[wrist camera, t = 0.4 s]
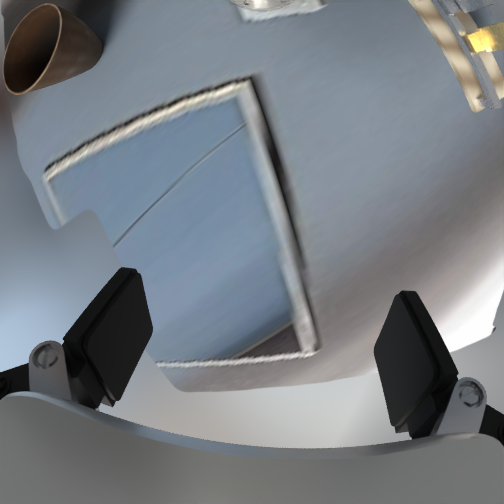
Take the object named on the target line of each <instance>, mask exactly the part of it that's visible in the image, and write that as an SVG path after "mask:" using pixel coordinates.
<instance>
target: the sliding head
mask: <svg viewBox="0 0 504 504" xmlns="http://www.w3.org/2000/svg"><path fill="white" fill-rule="evenodd" d="M475 31H476V32H475V33H472V34H469V35H466V36H464V38H465V40H466V41H467V43H468V45H469V47H470V49H471V50H472V52H473V53H477V52H479V51H482V50H485V49H486V51H487V52H489V51H496V50H504V22H501V23H496V24H492V25H488V26H484V27H481V28H478V29H475Z"/></svg>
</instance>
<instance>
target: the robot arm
mask: <svg viewBox="0 0 504 504" xmlns="http://www.w3.org/2000/svg"><path fill="white" fill-rule="evenodd" d="M230 1H231V2H232V3H234V4H236V5H237V6H240V7H242V8H245V9H249V10H255V11H268V10H274V9H278V8H281V7H284V6H286V5H288V4H289V3H291V2H292V1H294V0H230ZM282 1H284V2H282ZM246 4H249V5H246ZM152 332H153V326H152V322H151V318H150V313H149V309H148V305H147V300H146V296H145V291H144V286H143V282H142V277H141V274H140V273H138V272H137V270H136V269H133V268H125V267H121V268H120V269H119V270H118V271H117V272H116V273H115V275H114V276H113V277H112V278H111V279H110V280H109V281H108V283H107V284H106V285H105V286H104V287H103V288H102V290H101V291H100V292H99V293H98V294H97V296H96V297H95V298H94V300H92V302H91V303H90V304H89V305H88V307H87V308H86V309H85V310H84V312H83V313H82V314H81V315H80V317H79V318H78V319H77V320H76V322H75V323H74V325H73V326H72V327H71V328H70V330H69V331H68V332H67V333H66V335H65V336H64V337H63V340H64V343H63V344H62V345H61V344H60V343H58V342H56V341H45V342H43V343H40V344H39V345H37V346H36V347H35V348H34V349H33V350H32V352H31V354H30V357H29V363H27V364H24V365H21V366H18V367H15V368H12V369H9V370H6V371H3V372H0V504H504V414H502V413H500V412H499V411H497V410H495V409H494V408H492V407H490V406H489V405H487V404H486V402H487V395H486V391H485V389H484V387H483V386H482V385H481V384H480V382H478V381H477V380H475V379H473V378H470V377H465V378H461V379H460V380H458V378H457V375H458V370H457V368H456V366H455V364H454V362H453V360H452V357H451V355H450V353H449V351H448V349H447V347H446V345H445V343H444V341H443V339H442V337H441V335H440V333H439V331H438V329H437V328H436V326H435V324H434V322H433V320H432V318H431V316H430V315H429V313H428V311H427V309H426V308H425V306H424V304H423V302H422V301H421V299H420V297H419V295H418V294H417V292H416V291H401V292H400V293H399V294H397V295H396V296H395V297H394V300H393V303H392V305H391V308H390V310H389V313H388V315H387V318H386V320H385V323H384V325H383V328H382V330H381V332H380V335H379V337H378V339H377V341H376V344H375V346H374V356H375V360H376V364H377V368H378V371H379V375H380V379H381V383H382V387H383V392H384V396H385V400H386V405H387V409H388V413H389V419H390V423H391V425H392V426H395V431H396V433H401V432H408V431H409V435H410V437H409V439H408V440H406V441H399V442H392V443H384V444H377V445H368V446H357V447H344V448H321V449H320V448H317V449H298V448H271V447H258V446H247V445H238V444H230V443H223V442H216V441H210V440H204V439H199V438H193V437H188V436H183V435H179V434H174V433H170V432H165V431H162V430H158V429H154V428H150V427H146V426H143V425H140V424H136V423H133V422H130V421H126V420H123V419H120V418H117V417H114V416H111V415H108V414H105V413H102V412H100V411H99V408H98V407H99V405H100V403H103V404H105V405H108V406H111V407H113V406H114V404H115V402H116V401H119V400H120V399H121V397H122V395H123V392H124V390H125V388H126V386H127V384H128V382H129V380H130V378H131V376H132V374H133V372H134V370H135V368H136V366H137V364H138V361H139V359H140V357H141V355H142V353H143V351H144V349H145V347H146V345H147V343H148V342H149V340H150V338H151V336H152Z"/></svg>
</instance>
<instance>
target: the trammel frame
mask: <svg viewBox="0 0 504 504" xmlns="http://www.w3.org/2000/svg"><path fill="white" fill-rule="evenodd" d="M418 1H419V2H420V1H424V0H418ZM431 1H432V3H433V4H434V5H435V7H436V8H437V9H438V11H439V12H440V14H441V15H442V17H443V18H444V20H445V21H446V23H447V24H448V26H449V27H450V29H451V30H452V32H453V34H454V35H455V37H456V38H457V40H458V42H459V44H460V45H461V47H462V49H463V51H464V52H465V54H466V56H467V58H468V60H469V62H470V64H471V66H472V68H473V70H474V72H475V74H476V76H477V78H478V80H479V82H480V85H481V87H482V89H483V91H484V94H485V96H480V97H479V98H477V99H476V101H477V104H478V106H479V107H486V108H490V109H492V110H497V109H498V108H500V107H502V105H501V103H500V100H499V97H498V95H497V92H496V90H495V88H494V85H493V83H492V81H491V78H490V76H489V74H488V72H487V70H486V67H485V65H484V63H483V61H482V59H481V57H480V55H479V53H478V52H477V53H473V52H472V50H471V49H470V47H469V45H468V43H467V41H466V40H465V38H464V36H466V35H468V34H467V32H466V30H465V29H464V27H463V26H462V24H461V22H460V21H459V19H458V18H457V16H456V15H455V13H457V12H461V11H463V12H464V13H467V12H471V11H475V10H478V9H481V8H484V7H487V6H490V5H493V4H496V3H497V2H496V0H431Z"/></svg>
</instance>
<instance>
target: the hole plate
mask: <svg viewBox="0 0 504 504" xmlns="http://www.w3.org/2000/svg"><path fill="white" fill-rule="evenodd" d="M408 1H409V3H410V4H411V5H412V6H413V8H414V9H415V10H416V12H417V13H418V14H419V16H420V17H421V19H422V20H423V21H424V23H425V24H426V26H427V27H428V29H429V30H430V32H431V33H432V35H433V36H434V38H435V39H436V41H437V43H438V44H439V46H440V48H441V49H442V51H443V53H444V54H445V56H446V58H447V60H448V61H449V63H450V65H451V67H452V69H453V71H454V73H455V74H456V76H457V78H458V80H459V82H460V84H461V87H462V89H463V91H464V93H465V95H466V97H467V100H468V102H469V104H470V107H471V109H472V111H473V112H479V111H480V110H482V109H484V108H486V107H479V106H478V104H477V101H476V99H477V98H479V97H480V96H485V94H484V91H483V89H482V87H481V85H480V82H479V80H478V78H477V76H476V74H475V72H474V70H473V68H472V66H471V64H470V62H469V60H468V58H467V56H466V54H465V52H464V51H463V49H462V47H461V45H460V44H459V42H458V40H457V38H456V37H455V35H454V34H453V32H452V30H451V29H450V27H449V26H448V24H447V23H446V21H445V20H444V18H443V17H442V15H441V14H440V12H439V11H438V9H437V8H436V7H435V5H434V4H433V3H432V1H431V0H424V1H420V2H419V1H418V0H408ZM455 15H456V16H457V18H458V19H459V21H460V22H461V24H462V26H463V27H464V29H465V30H466V32H467V34H468V35H469V34H472V33H475V32H476V31H475V29H478V27H477V25H476V24H475V22H474V21H473V19H472V17H471V16H470V14H469V13H468V12H467V13H464V12H463V11H461V12H457V13H455ZM478 53H479V55H480V57H481V59H482V61H483V63H484V65H485V67H486V70H487V72H488V74H489V76H490V78H491V81H492V83H493V85H494V88H495V90H496V92H497V95H498V97H499V100H500V99H501V98H503V97H504V78H503V76H502V74H501V72H500V69H499V67H498V65H497V63H496V61H495V59H494V57H493V55H492V53H491V51H489V52H487V51H486V49H485V50H482V51H479V52H478Z"/></svg>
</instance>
